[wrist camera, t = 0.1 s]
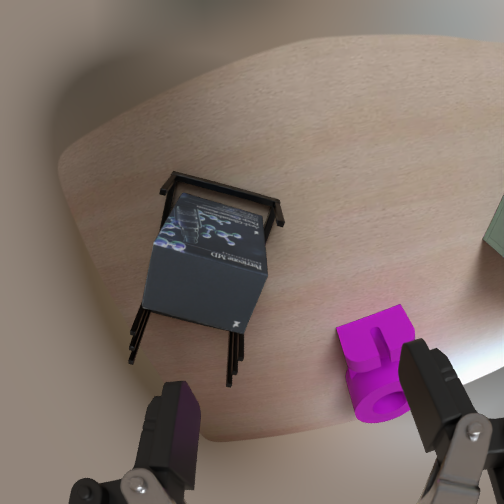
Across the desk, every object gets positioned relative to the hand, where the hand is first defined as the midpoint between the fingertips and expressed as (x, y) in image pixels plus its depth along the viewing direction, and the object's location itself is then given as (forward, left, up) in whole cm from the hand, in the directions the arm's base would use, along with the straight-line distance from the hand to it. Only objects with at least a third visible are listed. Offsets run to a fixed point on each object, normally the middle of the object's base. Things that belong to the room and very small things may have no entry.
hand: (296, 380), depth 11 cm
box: (+5, -4, -21) cm, 22 cm away
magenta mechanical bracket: (+17, +21, -21) cm, 34 cm away
